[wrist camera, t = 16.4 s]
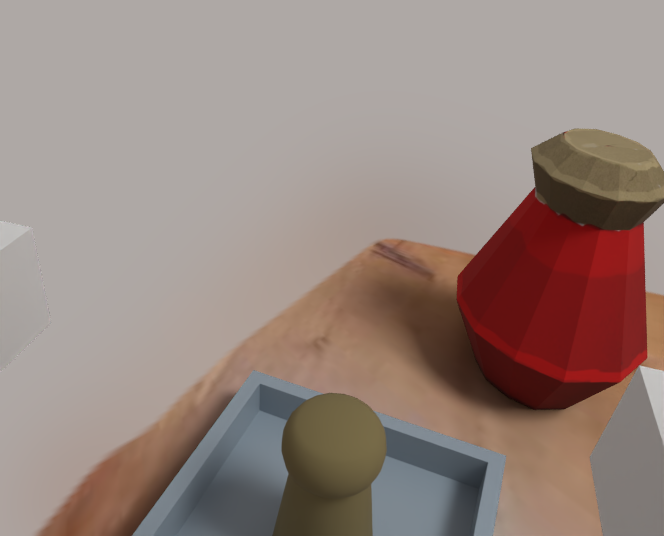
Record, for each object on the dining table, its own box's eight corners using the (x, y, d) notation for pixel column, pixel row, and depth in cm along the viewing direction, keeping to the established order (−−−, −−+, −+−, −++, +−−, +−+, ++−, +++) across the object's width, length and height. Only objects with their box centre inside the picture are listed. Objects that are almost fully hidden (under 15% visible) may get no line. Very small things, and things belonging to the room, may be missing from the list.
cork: (248, 544, 34) (247, 413, 28) (324, 485, 38) (338, 358, 32) (318, 627, 31) (334, 498, 25) (394, 553, 34) (425, 425, 28)
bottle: (411, 327, 53) (452, 111, 42) (530, 300, 58) (595, 100, 47) (519, 464, 41) (617, 214, 30) (658, 416, 46) (785, 186, 35)
